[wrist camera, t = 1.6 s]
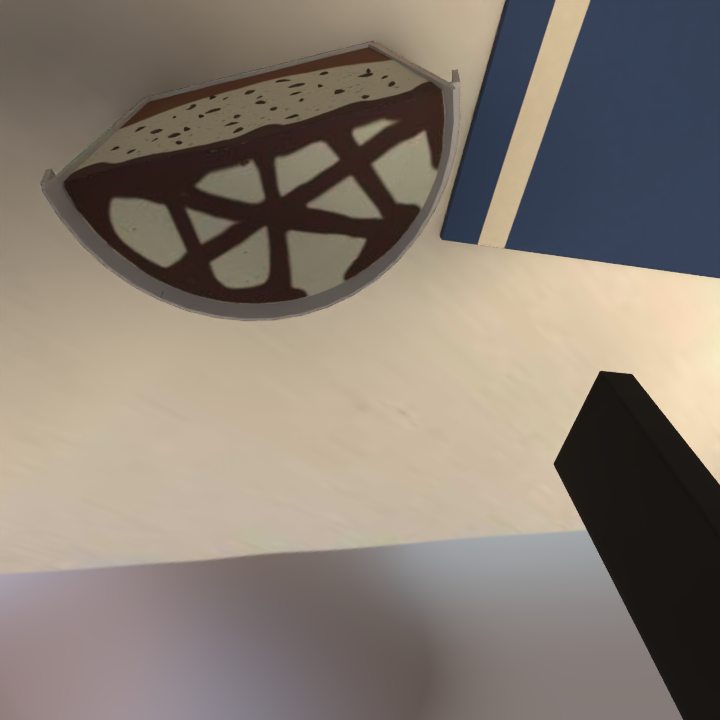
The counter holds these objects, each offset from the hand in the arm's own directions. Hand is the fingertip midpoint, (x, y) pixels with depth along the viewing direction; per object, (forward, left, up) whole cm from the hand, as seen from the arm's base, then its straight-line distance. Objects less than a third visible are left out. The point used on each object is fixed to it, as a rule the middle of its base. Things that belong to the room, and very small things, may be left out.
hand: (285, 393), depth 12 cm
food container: (0, 0, -17) cm, 17 cm away
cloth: (+19, +3, -17) cm, 25 cm away
